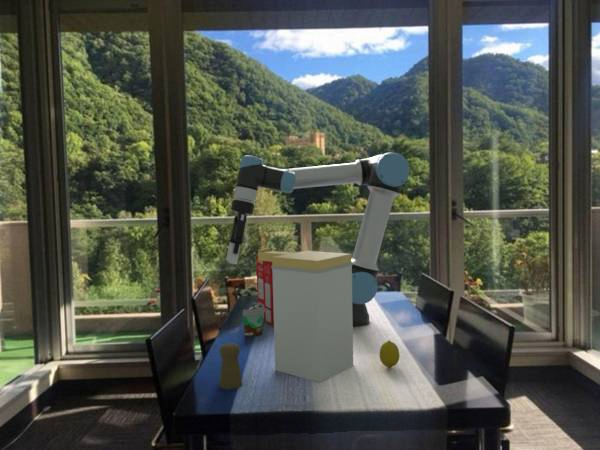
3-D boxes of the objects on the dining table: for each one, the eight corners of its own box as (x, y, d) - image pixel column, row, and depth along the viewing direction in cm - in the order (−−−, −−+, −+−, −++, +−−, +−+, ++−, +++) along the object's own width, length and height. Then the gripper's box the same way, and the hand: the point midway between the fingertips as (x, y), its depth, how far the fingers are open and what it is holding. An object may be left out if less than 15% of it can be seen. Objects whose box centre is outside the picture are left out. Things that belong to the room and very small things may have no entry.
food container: (260, 339, 181) (259, 310, 180) (243, 338, 182) (242, 310, 181) (269, 329, 193) (268, 302, 192) (253, 329, 194) (252, 302, 193)
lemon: (400, 366, 151) (400, 338, 150) (397, 372, 146) (397, 344, 145) (381, 364, 153) (381, 337, 152) (377, 370, 147) (377, 342, 147)
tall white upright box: (274, 370, 150) (271, 265, 147) (309, 355, 162) (307, 258, 160) (320, 382, 139) (318, 270, 137) (354, 365, 152) (352, 262, 150)
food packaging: (285, 324, 200) (283, 258, 198) (272, 326, 197) (270, 260, 196) (270, 316, 213) (268, 254, 211) (257, 317, 211) (256, 255, 209)
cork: (220, 381, 142) (218, 341, 141) (242, 380, 143) (241, 340, 142) (218, 390, 136) (217, 348, 135) (242, 388, 137) (240, 347, 136)
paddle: (244, 262, 154) (243, 251, 154) (279, 256, 167) (279, 246, 166) (318, 270, 137) (317, 257, 137) (351, 262, 150) (351, 251, 150)
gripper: (230, 200, 191) (218, 258, 190) (236, 196, 166) (222, 262, 165) (250, 205, 192) (238, 262, 191) (259, 201, 168) (245, 267, 167)
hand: (231, 262), depth 178 cm, fingers open, 13 cm apart
